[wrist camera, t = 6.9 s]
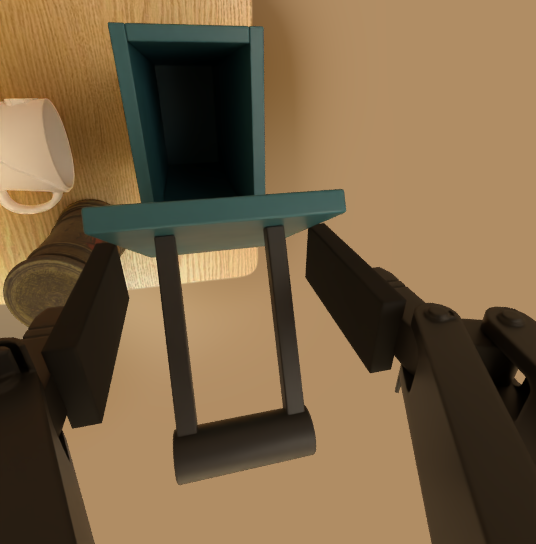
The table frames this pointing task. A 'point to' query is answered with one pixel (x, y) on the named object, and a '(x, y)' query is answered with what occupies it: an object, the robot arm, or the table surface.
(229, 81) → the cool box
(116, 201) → the table surface
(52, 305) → the container
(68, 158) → the mug
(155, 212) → the lid
